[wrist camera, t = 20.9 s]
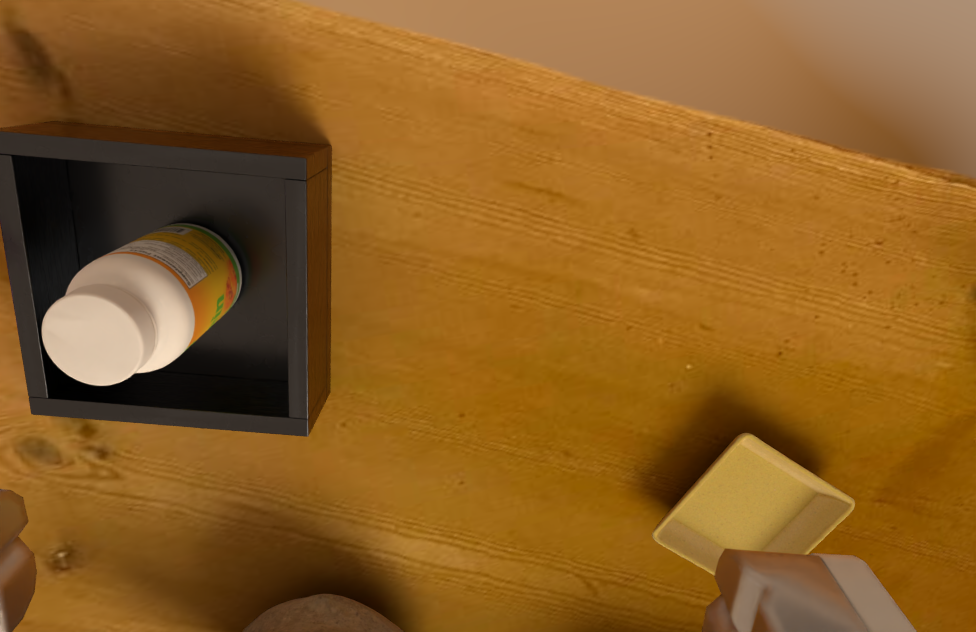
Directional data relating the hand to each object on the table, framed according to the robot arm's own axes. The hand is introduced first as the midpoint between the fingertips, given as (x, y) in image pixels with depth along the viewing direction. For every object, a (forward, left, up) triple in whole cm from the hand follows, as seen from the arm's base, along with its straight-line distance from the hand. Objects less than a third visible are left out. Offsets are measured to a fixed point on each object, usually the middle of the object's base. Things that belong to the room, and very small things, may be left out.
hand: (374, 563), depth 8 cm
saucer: (+18, +18, -29) cm, 39 cm away
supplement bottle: (+6, -14, -28) cm, 32 cm away
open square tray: (+6, -14, -29) cm, 33 cm away
